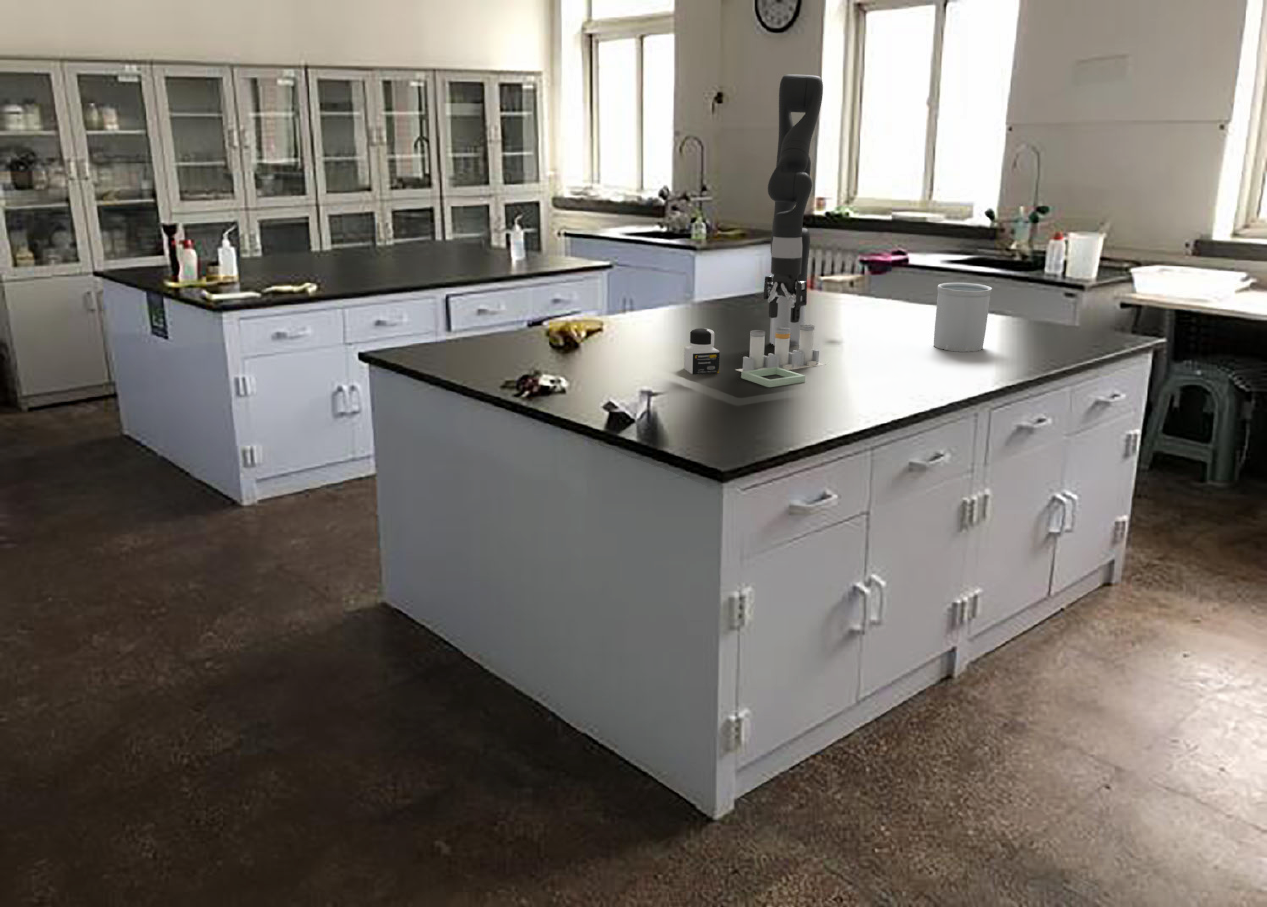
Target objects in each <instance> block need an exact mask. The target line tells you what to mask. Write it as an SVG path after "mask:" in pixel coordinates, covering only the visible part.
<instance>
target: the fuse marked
mask: <svg viewBox="0 0 1267 907" xmlns="http://www.w3.org/2000/svg"><path fill="white" fill-rule="evenodd" d="M789 340H790V328H787V327H777V328H776V330H775V346H774V354H775V355H779V356H780V359H779V368H782V369H783V365H788V360H789V352H790V346H789Z"/></svg>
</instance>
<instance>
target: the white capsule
mask: <svg viewBox="0 0 1267 907" xmlns="http://www.w3.org/2000/svg"><path fill="white" fill-rule="evenodd" d="M814 339H815V324H808V323H807V324H806V323H805V324H803V325H800V340H799V345H798V351H801V352H804V364H803V365H807V362H810V361H813V360H812V359H813V349H814Z"/></svg>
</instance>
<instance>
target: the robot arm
mask: <svg viewBox="0 0 1267 907" xmlns="http://www.w3.org/2000/svg"><path fill="white" fill-rule="evenodd" d="M823 83H824V82H823V79H822V77H820V76H819V75H815V74H814V75H813V74H784V75H783V76H782V77H781V80H780V82H779V90H778V139H777V140H778V142H777V152H776V153H777V155H776V164H775V168H774V170H773V172H772V173H771V176H770V178H769V180H768V182H767V184H768V185H767V194H768V196H769V198H770V199H771V200H772V201H774V209H773V210H774V212H773V221H772V229H771V236H770V237H771V239H770V256H771V258H770V263H771V264H770V273H771V275H765V277H764V283H763V284H764V285H763V295H762V296H763V300H767V303H768V316H769V318H770V324H769V325H770V326H769V327H770V328H769V343H770V344H771V345H772V344H773V345H772V346H774V347H775V330H776V328H777V327H787V328H790V340H789V347H792V346H793V347H794V346H799V340H800V325H803V324H806V307H807V302H808V298H807V297H808V293H807V292H808V266H809V258H810V256H809V255H810V249H811V248H810V247H811V234H810V231H809V229H807V228H805V227H803V226H804V225H803V221H804V215H805V210H806V208H807V204H808V201H809V198H810V196H811V192H812V189H813V180H812V178H811V167H812V160H811V157H810V148H811V142H812V137H813V135H814V131H815V130H816V129H815V128H816V125H817V122H818V118H819V114H820V110H821V108H822V103H823V94H824V84H823ZM792 113H799V114H800V113H801V114H802V113H803V116H802V117H801V118H800V120H798V121H797V122H796V124H794V122H793V117H792Z"/></svg>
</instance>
